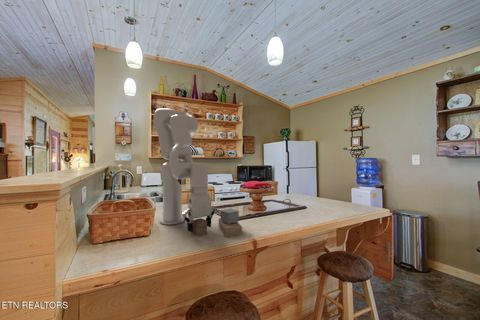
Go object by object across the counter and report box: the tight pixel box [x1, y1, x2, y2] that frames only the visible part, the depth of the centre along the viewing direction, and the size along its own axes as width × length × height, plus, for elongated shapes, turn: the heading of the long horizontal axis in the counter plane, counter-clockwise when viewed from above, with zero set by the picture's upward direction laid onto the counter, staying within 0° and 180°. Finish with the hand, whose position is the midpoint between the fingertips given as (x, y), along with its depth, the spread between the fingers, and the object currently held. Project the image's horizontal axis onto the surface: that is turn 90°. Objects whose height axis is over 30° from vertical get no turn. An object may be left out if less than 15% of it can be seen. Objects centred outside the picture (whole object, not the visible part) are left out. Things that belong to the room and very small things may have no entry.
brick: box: [217, 217, 243, 238], centre depth 106 cm, size 17×8×5 cm, turn 15°
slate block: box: [220, 208, 240, 224], centre depth 106 cm, size 6×6×5 cm
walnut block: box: [190, 217, 208, 237], centre depth 101 cm, size 5×5×6 cm
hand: (199, 229), depth 100 cm, fingers open, 9 cm apart
